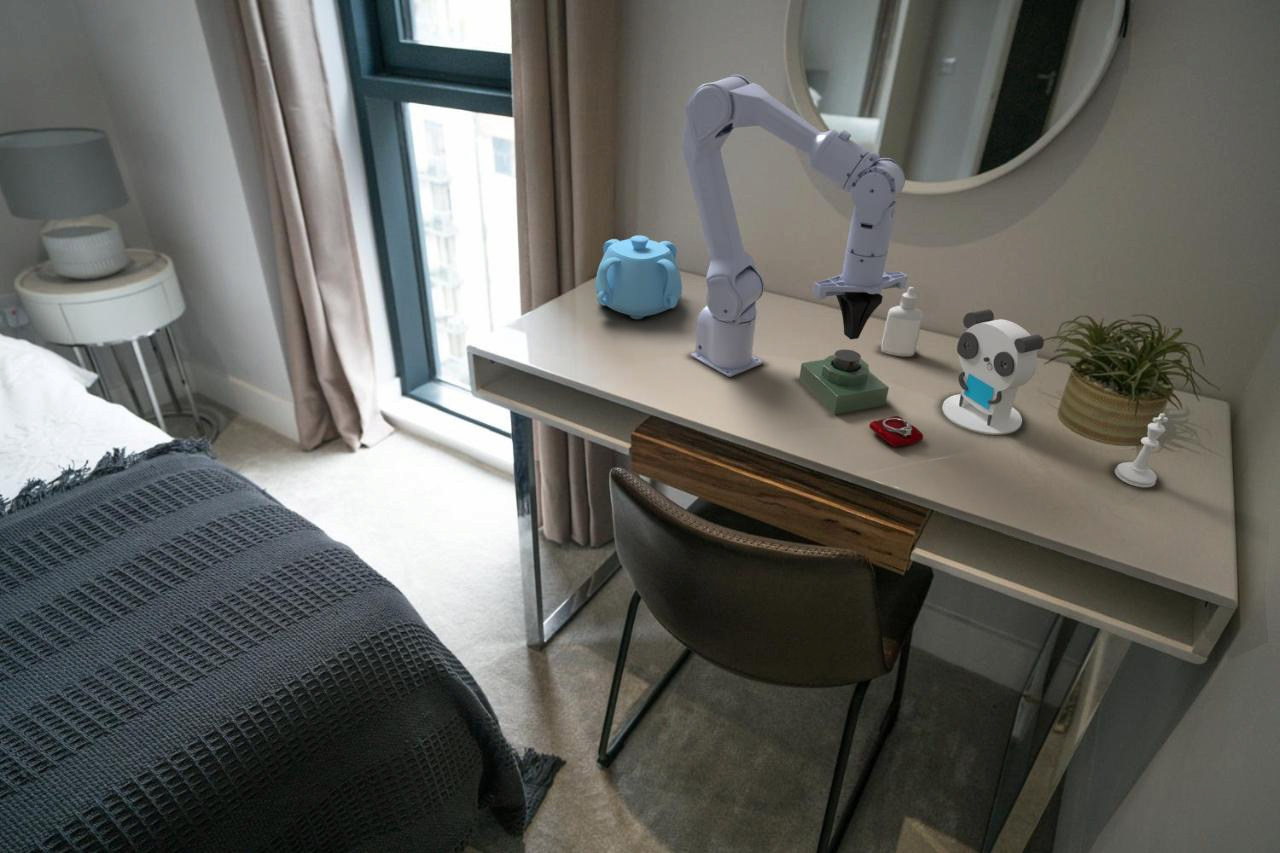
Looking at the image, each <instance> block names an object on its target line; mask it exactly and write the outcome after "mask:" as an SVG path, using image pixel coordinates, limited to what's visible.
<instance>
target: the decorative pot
mask: <svg viewBox="0 0 1280 853" xmlns="http://www.w3.org/2000/svg"><path fill="white" fill-rule="evenodd" d="M602 247H603V249H602V254H603V257H602V259H601V261H600V263H599V266H598V269H597V273H596V277H595V286H594V287H595V292H596V294H597V297H596V300H597V303H598V304H599V305H601V306H607V307H608V308H610V309H611V310H613V311H615V312H618V313H620V314H624V315H627V316H629V317H630V318H631V319H634V320H642V319H643V318H644V317H649V316H653V315H656V314H660V313H662V312H665V311H667V310H669V309H674V308H675V307H676V306H677V305H678V301H679V300H680V299H681V297H682V293H683V284H682V282H683V281H682V276H681V273H680V269H679V267H678V264H677V262H676V259H677V246H676V245H675V244H674V243H673V242H671V241H668V240H662V241H660V242H658V241H655V240H653V239H649V237H648V236H645V235H633V236H632V237H630V238H627V239H624V240H619V239H617V238H612V239H609V240H607V241H605V242H604V244H603V246H602Z"/></svg>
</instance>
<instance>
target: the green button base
mask: <svg viewBox="0 0 1280 853" xmlns="http://www.w3.org/2000/svg"><path fill="white" fill-rule="evenodd" d="M833 360H834V354H832V355H828V356H826V357H825V358H823V359H819V360H818V359H817V360H811V361H806V362H801V364H800V372H799V378H798V379H799V382H800V383H801V384H802V385H803V386H804V387H805V388H806V389H807V390H808V391H810V392H811V394H813V396H815V397H816V399H818V400H819V401H820V402H821V403H822V404H823V405H824V406H825V407H826V408H827V409H828V410H829V412H831V413H832V414H833V415H838V414H843V413H844V414H845V413H849V412H854V411H861V410H866V409H872V408H876V407H877V408H878V407H882V406H886V403H887V398H888V394H889V390H890V389H889V388H890V387H889V385H887V384H886V383H884V382H883V381H882V380H881V379H879V378H878V376H876V375H875V374H873V373H872V372H871V371H870V366H869V364H868V363H867V361H865V360H864V359H862V358H861V360H860V365H859V370H858V371H855V372H844V371H840V370H837V369H835V368H834V367H833Z"/></svg>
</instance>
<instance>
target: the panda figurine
mask: <svg viewBox="0 0 1280 853" xmlns="http://www.w3.org/2000/svg"><path fill="white" fill-rule="evenodd" d="M962 323H963V326H964V327H965V328H966V329H967V330H965V332H963V333H962V334H961V336H960V337H959V340H958V342H957V346H956V351H957V354H958V358H959V362H960V366H961V368H962V371H963V372H960V373H959V375H958V378H957V379H958V384H959V386H960V387H961V392H960V393H959V394H954V395H951V396H949V397H947V398H945V400H944V401H943V404H942V406H941V407H942V412H943V414H944V415H945V417H946V418H947V419H948V420H949V421H951V422H952V423H953V424H956V425H957V426H959V427H961V428H963V429H966V430H968V431H971V432H975V433H979V434H982V435H983V434H984V435H993V436H995V435H996V436H999V435H1008V434H1011V433H1014V432H1016V431H1018V430H1019V429H1020V428H1021V426H1022V424H1023V418H1022V415H1021V414H1020V412H1019V411H1018V410H1017V409H1016V408H1015V407H1013V405H1014V402H1015V398H1016V396H1017V394H1018V389H1019V387H1022V386H1024V385H1027V383H1029V381H1030V380H1031V379H1032V378H1033V376H1034V375H1035V372H1036V369H1037V363H1038V350H1042V349H1043V347H1044V343H1045V340H1044V338H1043V336H1041V335H1040V334H1033V335H1031V334H1030V333H1029V331H1027V330H1026V329H1025V328H1024V327H1022V326H1020V325H1019V324H1017V323H1015V322H1014V321H1010V320H1008V319H1001V318H1000V319H995V315H994V312H993V310H991V309H989V308H986V309H982V310H977V311H972V312H967V313H966V314H965V315H964V317H963V321H962Z"/></svg>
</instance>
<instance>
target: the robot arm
mask: <svg viewBox="0 0 1280 853" xmlns="http://www.w3.org/2000/svg"><path fill="white" fill-rule="evenodd" d="M684 111H685V114H686V120H685V126H684V132H683V137H682V143H681V147H682V148H681V149H682V153H683V157H684V162H685V164H686V168H687V173H688V177H689V181H690V184H691V188H692V192H693V196H694V200H695V204H696V208H697V212H698V216H699V219H700V224H701V228H702V232H703V235H704V240H705V244H706V248H707V251H708V255H709V258H710V263H709V266H708V270H707V274H706V278H705V281H706V285H707V293H706V299H705V300H706V306H705V307H703V309H702V310H701V311H700V313H699V314H698V317H697V321H696V330H695V331H696V332H695V346H694V352H691V354H690V356H691V357H692V358H694V359H696V360H697V361H699V362H701V363H703V364H705V365H707V366H708V367H709V368H712V369H713V370H715V371H717V372H718V373H721V374H722V375H724V376H726V377H729V378H730V377H731V378H732V377H733V376H736V375H739V374H741V373H744V372H746V371H748V370H750V369H751V370H752V369H753V368H755V367H758V366H760V365H762V364H763V360H762V359H761V358H758V357H756V356H754V355H753V348H754V339H755V332H756V331H755V330H756V322H757V321H756V320H757V312H758V311H757V308H756V304H757V301H759V299H761V298H762V296H763V294H764V292H765V281H764V277H763V276H762V274H761V273H760V271H759V270H758V269H757V267H756V265H755V260H754V258H753V256H752V255H750V254H749V253H748V252H746V251H745V249H744V245H743V241H742V240H743V239H742V235H741V231H740V228H739V224H738V219H737V215H736V212H735V211H736V210H735V206H734V202H733V197H732V193H731V188H730V186H729V185H730V184H729V181H728V178H727V177H728V176H727V173H726V169H725V164H724V160H723V156H722V152H721V149H722V147H723V145H724V144H725V142H726V141H727V139H728V137H729V136H730V134H731V133H732V131H733V130H734V129H735V128H737V129H739V128H748V127H749V128H750V127H760V128H762V129H763V130H765V131H767V132H768V133H770V134H772V135H773V136H775V137H777V138H779V139H780V140H782V141H784V142H785V143H787V144H788V145H791V146H792V147H794V148H796V149H798V151H801V152H803V153H804V154H806V157H807V162H808V165H809V167H810V169H812V170H813V171H815V172H816V173H818V174H820V175H821V176H823V177H824V178H826V179H827V180H828V181H830V182H832V183H833V184H835V185H836V186H838V187H839V188H840V189H842V190H844V191H845V192H847V193H850V197H851V198H850V199H851V200H852V202H853V204H854V205H853V211H852V216H851V219H850V225H849V231H848V237H847V242H846V247H845V248H846V249H845V255H844V260H843V267H842V273H840V274H838V275H835V276H832V277H829V278H826V279H824V280H820V281H815V282H813V287H812V288H813V289H812V296H814V297H815V298H816V299H818V300H825V299H826V297H834V296H836V299H837V302H838V304H839V308H840V312H841V316H842V323H843V335H844V336H845V337H847V338H848V339H849V340H857V339H859V338H860V336H861V334H862V332H863V331H864V330H863V329H864V327H865V326H866V324H867V322H868V320H869V319H870V317H871V316H872V314H873V313H874V312H875V310H876V309H878V307H879V306H880V305H881V304H882V303H883V298H884V296H883V295H882V291H883V290H887V289H894V288H897V289H898V290H902V289H906V286H907V282H908V275H907V274H906V273H905V274H904V273H903V272H902V271H885V267H886V262H887V257H888V253H889V249H890V248H889V247H890V243H891V237H892V232H893V228H894V227H893V226H894V217H895V213H896V206H897V201H896V199H897V198H898V197H899V196H900V195H901V193H902V192H903V189H904V188H905V185H906V184H905V183H906V176H905V172H904V170H903V168H902V167H901V165H900V164H898V163H897V162H896V160H895V159H893V158H889V157H881V155H880V154H879V153H878V152H877V151H873V152H870V151H868V150H867V149H865V148H864V147H862V146H860V145H859V144H858V143H856V142H855V141H853V140H851V137H852V134H851V133H849V132H848V131H847V130H845V129H843V130H842V131H838V130H836V129H830V130H827V131H820V130H819V129H817V128H816V127H815V126H814V125H812V124H811V123H809V122H808V121H806V120H805V119H803V118H802V117H801V116H800V115H798V114H797V113H795V111H793V110H792V109H790V108H789V107H788V106H786V105H785V104H783V103H782V102H780V101H779V100H778V99H777V98H775V97H774V96H772V95H771V94H770V93H769V92H768V91H767V90H766V89H765V88H763V87H762V86H761V85H760V84H757V83H755V82H751V81H750V80H749V79H748V78H746V77H745V76H743V75H740V74H731V75H728V76H725V77H723V78H722V79H719V80H716V81H713V82H707V83H703V84H701V85H699V86H698V87H697V88H696V89H695V90H694V92H693V94H692V95H691V96H690V98H689V100H688V101H687V103H686V104H685V106H684ZM880 157H881V158H880Z"/></svg>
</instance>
